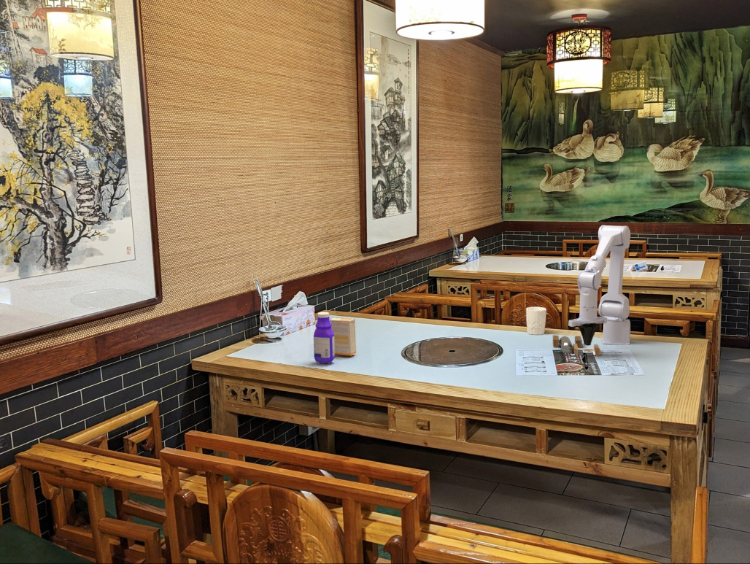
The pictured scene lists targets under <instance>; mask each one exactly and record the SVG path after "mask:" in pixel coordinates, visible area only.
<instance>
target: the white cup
mask: <svg viewBox="0 0 750 564" xmlns="http://www.w3.org/2000/svg"><path fill="white" fill-rule="evenodd" d="M525 312H526V313H525V314H526V315H525V317H526V318H525V319H526V332H527V334H528V335H534V336H541V335H544V334H545V331H546V330H545V329H546V328H545V327H546V319H547V308H546V307H543V306H542V307H541V306H529V307H526V308H525Z"/></svg>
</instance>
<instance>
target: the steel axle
mask: <svg viewBox="0 0 750 564" xmlns="http://www.w3.org/2000/svg"><path fill="white" fill-rule="evenodd" d="M559 347H560V348H561V351H562V354H564V353H572V354H574V348H573V343H572V340H571V339H570V338H569V336H561V337H559Z"/></svg>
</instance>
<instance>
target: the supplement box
mask: <svg viewBox="0 0 750 564" xmlns="http://www.w3.org/2000/svg"><path fill="white" fill-rule="evenodd" d="M330 322H331V324H332V326H331V329H332V330H333V332H334V342H335V355H342V356H349V357H350V356H353V355H355V354H356V353H357V336H356V335H357V333H356V318H353V317H338V316H337V317H333V318H330Z"/></svg>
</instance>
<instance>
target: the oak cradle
mask: <svg viewBox="0 0 750 564" xmlns="http://www.w3.org/2000/svg"><path fill="white" fill-rule="evenodd" d="M572 346H573V348H574V352H573V355H574V354H577V355H578V350H585V351H588V352H591V351H594V352H595V355H596V356H595V357H601V349H600V345H599V344H598V343H596V344H594V345H593V349H591V348H590V349H588V348H578V346H577V344H575V343H572Z"/></svg>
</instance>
